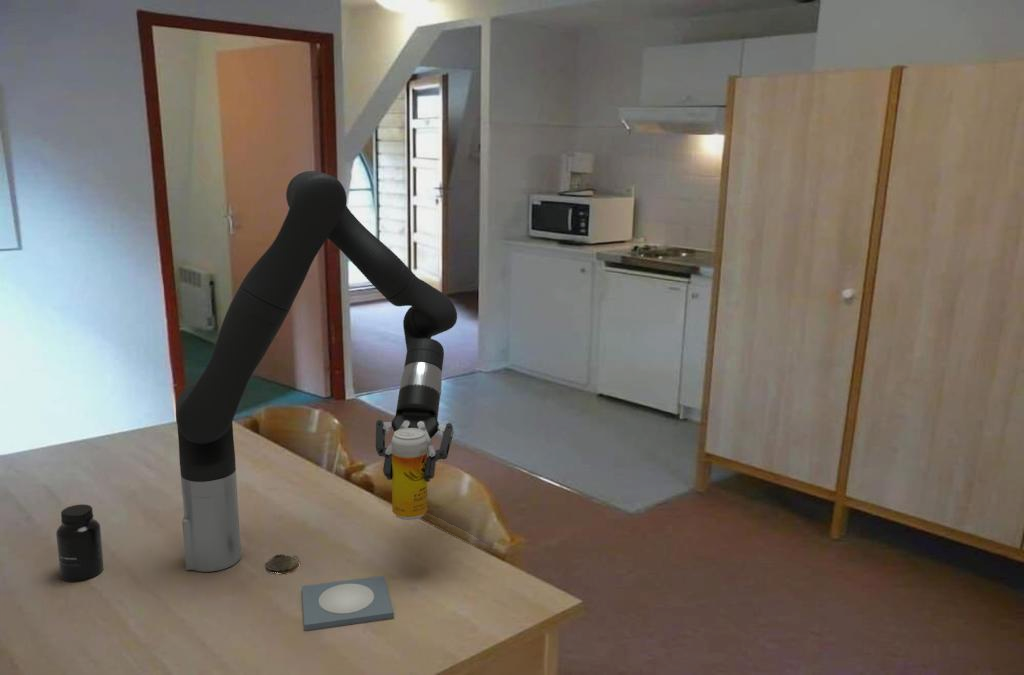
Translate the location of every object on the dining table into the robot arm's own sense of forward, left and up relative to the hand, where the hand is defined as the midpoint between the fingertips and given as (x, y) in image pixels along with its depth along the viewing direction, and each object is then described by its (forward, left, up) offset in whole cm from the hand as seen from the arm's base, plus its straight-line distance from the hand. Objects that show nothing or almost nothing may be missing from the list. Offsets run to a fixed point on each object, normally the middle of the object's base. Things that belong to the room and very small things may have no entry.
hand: (408, 478), depth 136 cm
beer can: (0, +2, -7) cm, 8 cm away
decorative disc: (-21, +10, -19) cm, 31 cm away
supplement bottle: (-55, +16, -19) cm, 61 cm away
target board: (-11, -6, -19) cm, 23 cm away
